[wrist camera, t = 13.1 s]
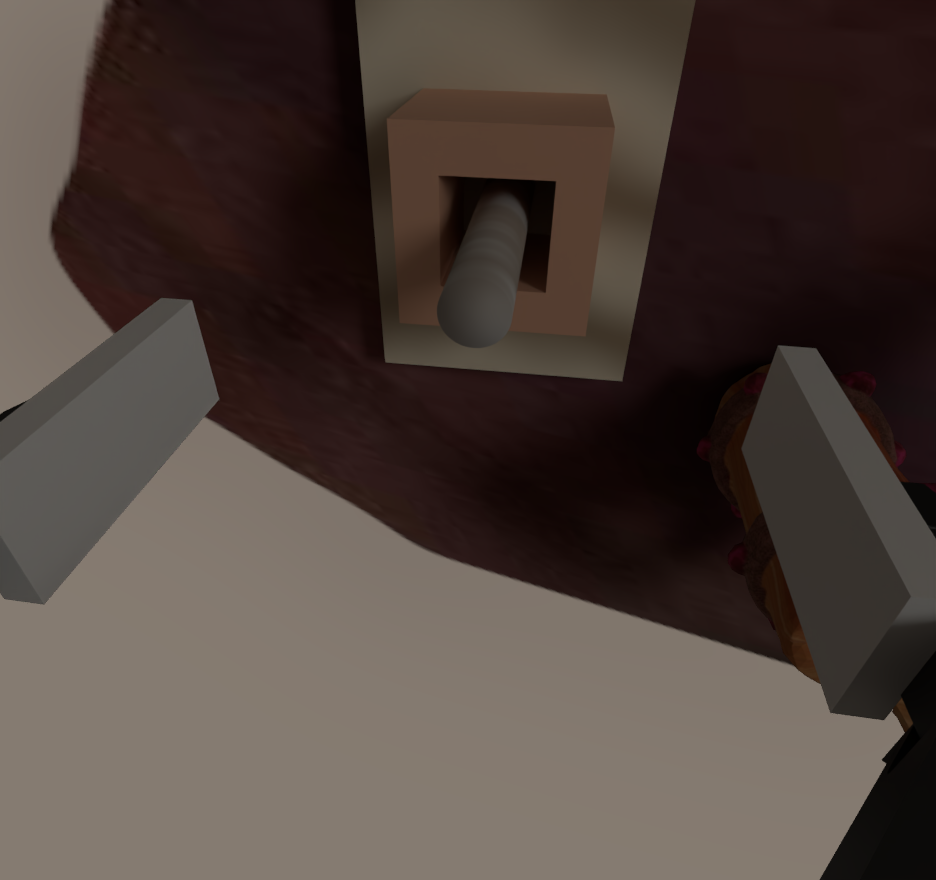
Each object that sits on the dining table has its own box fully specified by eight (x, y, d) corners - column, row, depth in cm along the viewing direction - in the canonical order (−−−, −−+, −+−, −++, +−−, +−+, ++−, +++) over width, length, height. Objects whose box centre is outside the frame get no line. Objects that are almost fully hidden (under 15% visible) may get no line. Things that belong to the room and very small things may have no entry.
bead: (583, 272, 27) (585, 336, 23) (428, 262, 28) (399, 323, 23) (606, 94, 23) (615, 127, 18) (423, 88, 24) (386, 119, 19)
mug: (662, 380, 32) (715, 624, 20) (829, 299, 28) (1012, 540, 16) (772, 551, 38) (861, 814, 26) (920, 503, 34) (1101, 783, 23)
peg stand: (620, 365, 32) (643, 567, 21) (391, 348, 33) (305, 530, 22) (706, -98, 21) (846, -163, 10) (359, -100, 22) (157, -158, 11)
